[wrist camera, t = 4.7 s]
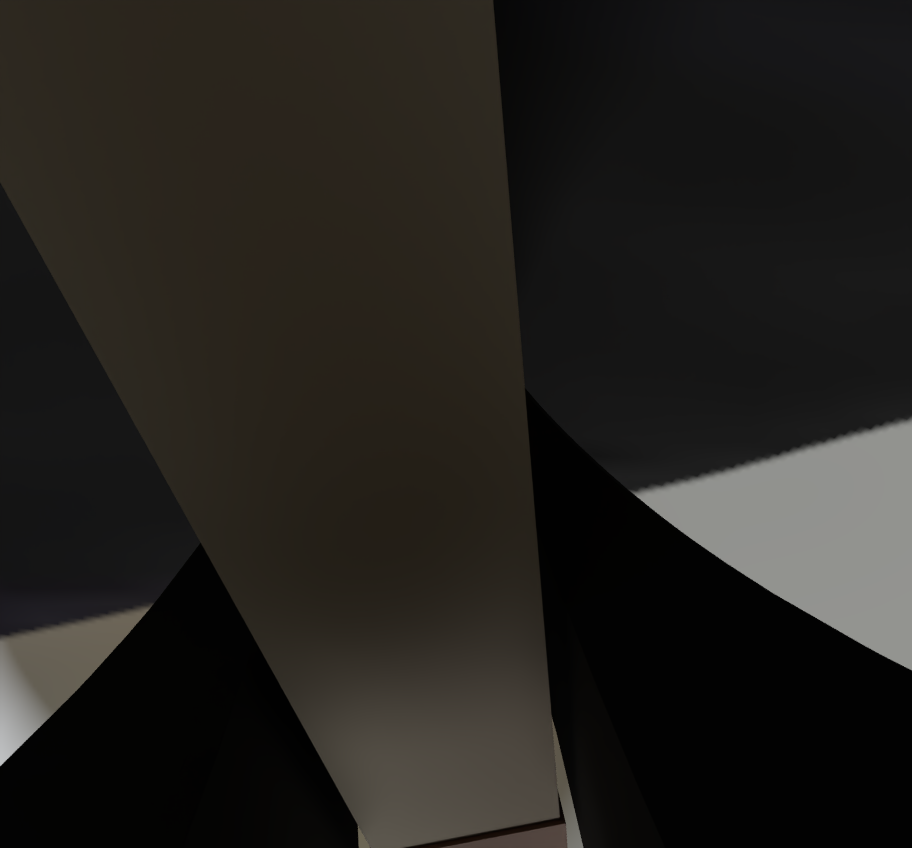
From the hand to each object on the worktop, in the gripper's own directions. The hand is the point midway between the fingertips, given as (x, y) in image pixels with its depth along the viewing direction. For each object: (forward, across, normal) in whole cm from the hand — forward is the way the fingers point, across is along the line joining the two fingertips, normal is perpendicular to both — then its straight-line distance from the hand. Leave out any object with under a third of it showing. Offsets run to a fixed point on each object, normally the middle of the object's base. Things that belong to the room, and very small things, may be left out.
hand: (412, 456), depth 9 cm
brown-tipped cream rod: (+2, 0, -4) cm, 4 cm away
